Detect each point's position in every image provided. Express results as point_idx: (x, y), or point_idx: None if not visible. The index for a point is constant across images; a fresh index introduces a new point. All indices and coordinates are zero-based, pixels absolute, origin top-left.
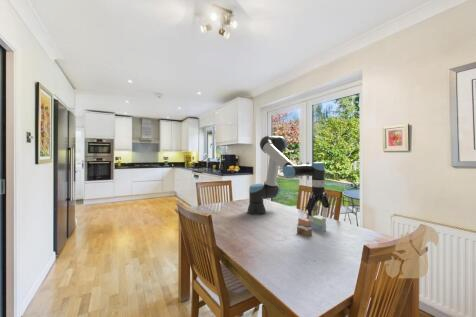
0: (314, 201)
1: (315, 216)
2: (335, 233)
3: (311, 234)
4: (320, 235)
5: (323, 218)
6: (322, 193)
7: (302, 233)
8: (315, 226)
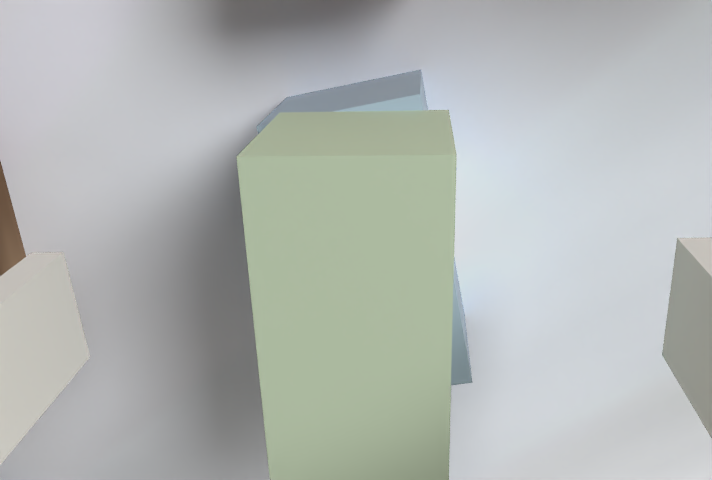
0: None
1: (346, 239)
2: (468, 475)
3: None
4: (182, 408)
5: (391, 475)
6: None
7: None
8: None
